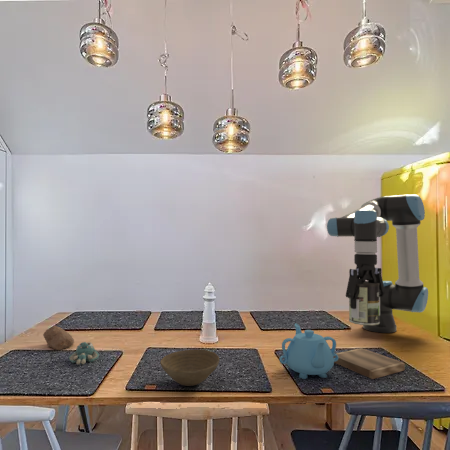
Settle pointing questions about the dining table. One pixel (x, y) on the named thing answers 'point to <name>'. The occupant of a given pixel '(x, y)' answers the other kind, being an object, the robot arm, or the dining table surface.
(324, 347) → the teapot
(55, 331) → the stone
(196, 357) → the bowl
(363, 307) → the coffee can
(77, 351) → the stuffed animal
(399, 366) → the walnut board
